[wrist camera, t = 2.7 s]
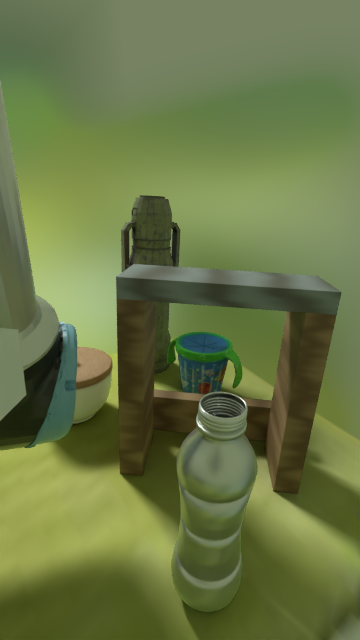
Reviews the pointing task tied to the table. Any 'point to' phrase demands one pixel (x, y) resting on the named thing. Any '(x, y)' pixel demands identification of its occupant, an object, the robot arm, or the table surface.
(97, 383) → the lidded bowl
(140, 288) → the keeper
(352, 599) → the table surface
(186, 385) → the snack cup
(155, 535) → the table surface
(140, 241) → the thermos
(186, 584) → the plastic bottle
